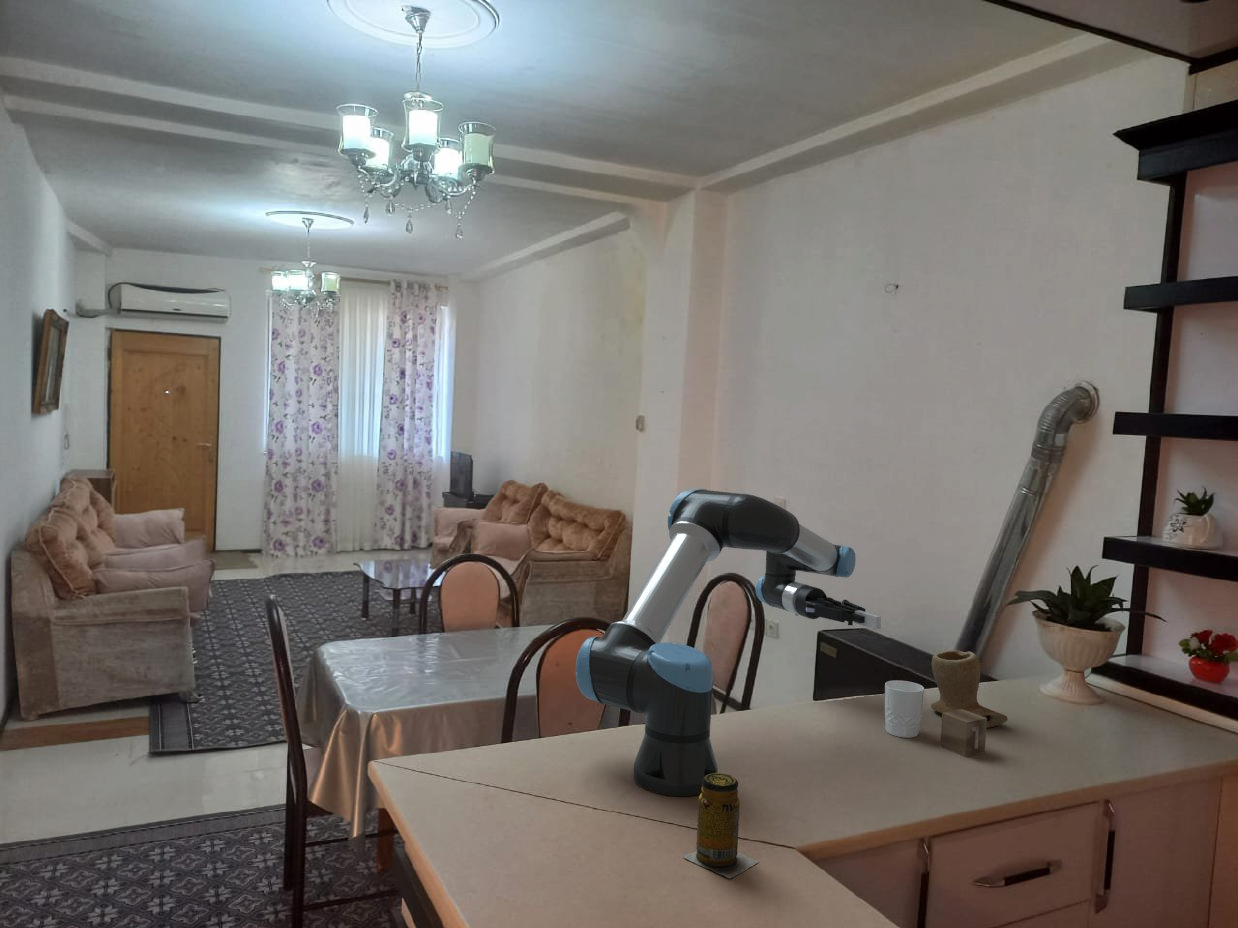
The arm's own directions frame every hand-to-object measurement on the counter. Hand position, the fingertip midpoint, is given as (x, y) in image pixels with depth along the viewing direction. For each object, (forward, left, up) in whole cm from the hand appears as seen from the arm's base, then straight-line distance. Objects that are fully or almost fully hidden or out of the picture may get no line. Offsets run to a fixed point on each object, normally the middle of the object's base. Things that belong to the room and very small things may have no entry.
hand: (878, 622), depth 195 cm
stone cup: (+21, -1, -22) cm, 30 cm away
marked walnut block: (+11, -18, -22) cm, 30 cm away
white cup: (+3, -8, -22) cm, 23 cm away
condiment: (-51, -57, -22) cm, 80 cm away
